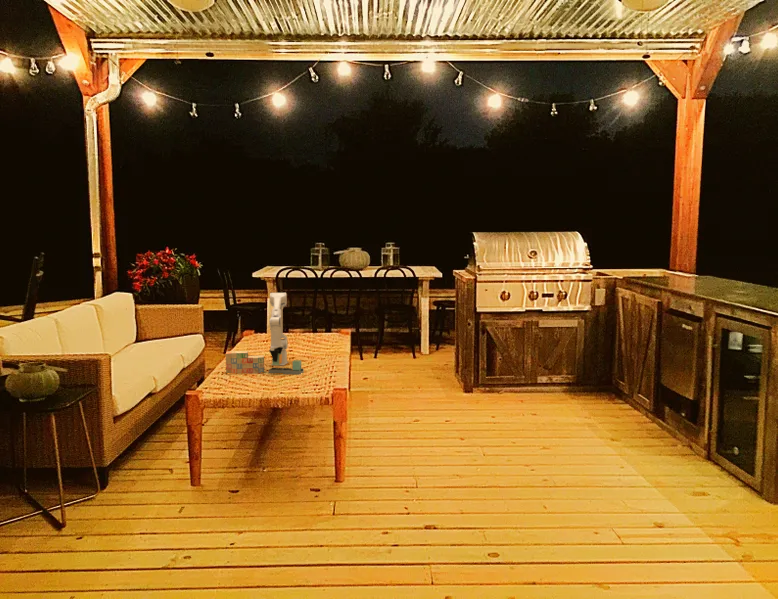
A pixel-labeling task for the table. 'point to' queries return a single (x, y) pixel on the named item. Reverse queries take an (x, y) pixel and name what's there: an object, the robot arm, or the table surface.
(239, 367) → the stack of blocks
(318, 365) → the table surface
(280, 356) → the toy block
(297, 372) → the rail
